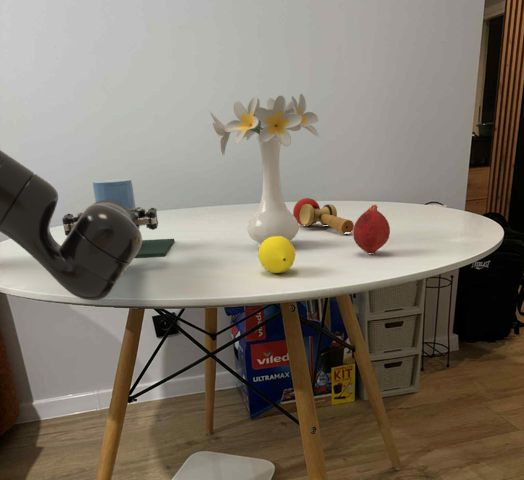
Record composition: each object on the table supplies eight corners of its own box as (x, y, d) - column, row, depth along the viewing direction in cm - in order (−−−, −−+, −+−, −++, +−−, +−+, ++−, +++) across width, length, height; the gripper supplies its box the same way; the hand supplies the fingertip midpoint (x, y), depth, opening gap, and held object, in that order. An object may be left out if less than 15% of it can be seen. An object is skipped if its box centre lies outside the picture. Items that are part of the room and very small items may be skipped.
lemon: (254, 269, 77) (252, 233, 75) (288, 265, 78) (287, 230, 76) (265, 280, 70) (264, 242, 68) (302, 276, 72) (301, 238, 70)
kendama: (364, 238, 102) (315, 216, 116) (364, 208, 98) (313, 189, 112) (333, 250, 100) (286, 226, 113) (332, 219, 96) (283, 199, 109)
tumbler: (90, 181, 92) (101, 246, 97) (94, 183, 86) (106, 252, 91) (128, 178, 95) (137, 242, 99) (134, 180, 89) (143, 248, 93)
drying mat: (62, 261, 88) (62, 258, 88) (85, 246, 101) (85, 243, 101) (164, 256, 89) (164, 252, 88) (174, 241, 101) (174, 238, 101)
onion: (369, 260, 79) (371, 207, 76) (345, 254, 84) (346, 204, 81) (395, 254, 82) (399, 204, 79) (371, 249, 86) (373, 201, 83)
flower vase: (215, 245, 96) (203, 99, 86) (307, 237, 99) (305, 96, 90) (227, 259, 84) (215, 92, 74) (331, 249, 88) (332, 89, 78)
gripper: (60, 261, 71) (75, 241, 85) (161, 252, 73) (159, 234, 88) (49, 206, 68) (66, 195, 83) (155, 199, 70) (153, 189, 85)
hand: (114, 215), depth 85 cm, fingers open, 8 cm apart
